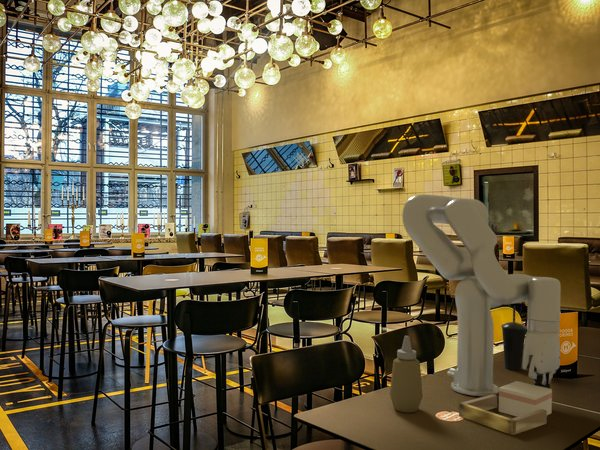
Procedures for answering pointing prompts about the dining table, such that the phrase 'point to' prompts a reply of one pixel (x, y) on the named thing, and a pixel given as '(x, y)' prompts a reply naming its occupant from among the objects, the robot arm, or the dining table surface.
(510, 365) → the drinking cup
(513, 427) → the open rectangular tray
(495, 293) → the robot arm
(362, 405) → the dining table surface
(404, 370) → the squeeze bottle
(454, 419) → the dining table surface
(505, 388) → the carton
